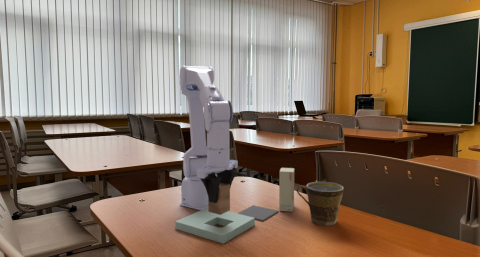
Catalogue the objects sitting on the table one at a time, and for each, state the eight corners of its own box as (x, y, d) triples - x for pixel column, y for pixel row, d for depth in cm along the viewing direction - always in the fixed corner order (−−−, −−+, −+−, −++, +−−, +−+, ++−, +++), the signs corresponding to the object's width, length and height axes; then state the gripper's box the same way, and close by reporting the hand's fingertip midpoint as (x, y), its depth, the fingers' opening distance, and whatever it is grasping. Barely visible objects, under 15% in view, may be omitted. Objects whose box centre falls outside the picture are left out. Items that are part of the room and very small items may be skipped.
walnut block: (208, 211, 89) (208, 185, 88) (217, 207, 92) (217, 181, 91) (220, 214, 86) (220, 187, 86) (229, 210, 90) (229, 184, 89)
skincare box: (293, 212, 103) (293, 172, 101) (278, 211, 103) (279, 171, 102) (294, 205, 109) (294, 167, 108) (280, 204, 110) (280, 167, 108)
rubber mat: (236, 214, 101) (236, 213, 100) (253, 206, 108) (253, 205, 108) (262, 221, 95) (263, 219, 95) (278, 212, 103) (278, 210, 103)
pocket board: (175, 228, 90) (175, 221, 90) (209, 213, 102) (209, 206, 102) (223, 243, 81) (223, 235, 81) (254, 224, 93) (254, 217, 93)
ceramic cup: (345, 218, 97) (346, 184, 96) (338, 231, 89) (339, 193, 88) (301, 211, 104) (302, 178, 102) (290, 222, 95) (291, 187, 94)
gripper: (212, 153, 79) (213, 210, 81) (247, 145, 91) (247, 195, 93) (190, 150, 83) (190, 205, 85) (225, 143, 95) (226, 191, 97)
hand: (218, 199), depth 89 cm, fingers closed on walnut block, 4 cm apart
